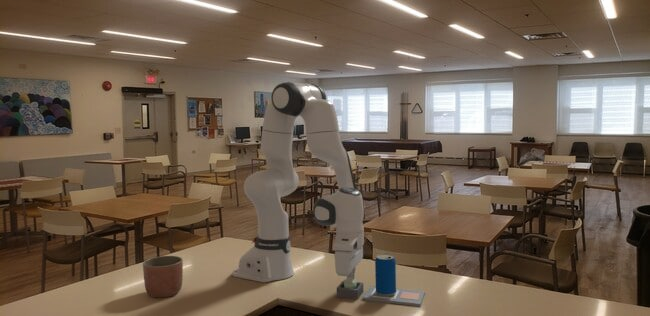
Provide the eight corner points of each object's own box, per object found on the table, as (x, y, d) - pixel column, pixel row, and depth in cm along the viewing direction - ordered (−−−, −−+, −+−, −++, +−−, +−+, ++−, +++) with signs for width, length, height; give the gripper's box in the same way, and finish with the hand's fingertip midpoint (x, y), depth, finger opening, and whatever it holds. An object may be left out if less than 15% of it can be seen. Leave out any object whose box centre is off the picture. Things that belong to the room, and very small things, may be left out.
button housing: (336, 296, 152) (336, 287, 151) (342, 289, 158) (342, 280, 158) (357, 299, 149) (357, 290, 149) (363, 291, 156) (363, 282, 156)
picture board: (362, 299, 149) (362, 297, 149) (370, 287, 159) (370, 285, 159) (420, 306, 143) (420, 303, 143) (425, 293, 154) (425, 290, 154)
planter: (191, 288, 161) (190, 257, 160) (167, 302, 149) (166, 268, 148) (160, 285, 165) (159, 254, 164) (135, 298, 153) (134, 264, 152)
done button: (342, 293, 153) (342, 282, 152) (346, 288, 156) (345, 278, 156) (354, 294, 151) (354, 283, 151) (357, 290, 155) (357, 279, 155)
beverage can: (395, 297, 148) (395, 259, 147) (375, 296, 149) (374, 259, 149) (396, 290, 155) (395, 253, 154) (376, 289, 156) (375, 253, 155)
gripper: (349, 230, 163) (349, 270, 164) (331, 246, 144) (331, 290, 145) (367, 232, 161) (367, 271, 162) (351, 247, 142) (351, 292, 143)
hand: (350, 280), depth 154 cm, fingers closed, pressing on done button
